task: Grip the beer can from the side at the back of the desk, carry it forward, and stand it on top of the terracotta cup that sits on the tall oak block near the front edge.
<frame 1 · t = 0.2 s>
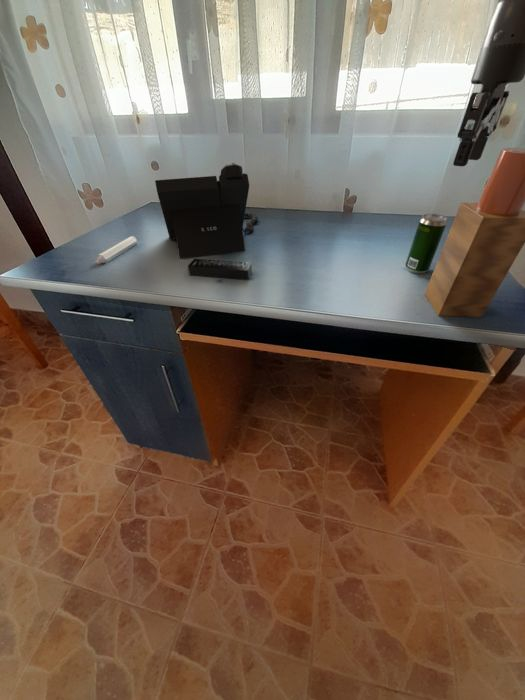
hand: (466, 162, 58), 22 cm above the table, tool pointing down, fingers open, 8 cm apart
cup: (497, 210, 48), resting on stand
stand: (451, 305, 59), on the table
office phone: (219, 235, 90), on the table
white pencil: (117, 255, 80), on the table
multiport hub: (220, 274, 71), on the table
beer can: (415, 269, 72), on the table
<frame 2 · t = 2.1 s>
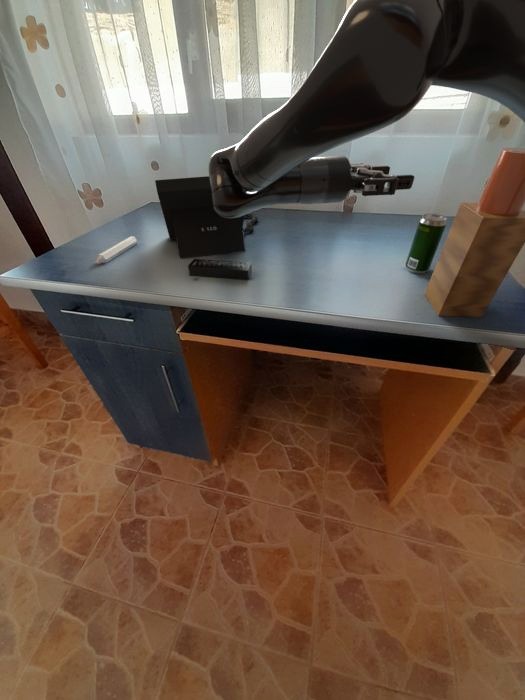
hand: (399, 176, 57), 20 cm above the table, tool horizontal, fingers open, 8 cm apart
nothing on the table moved.
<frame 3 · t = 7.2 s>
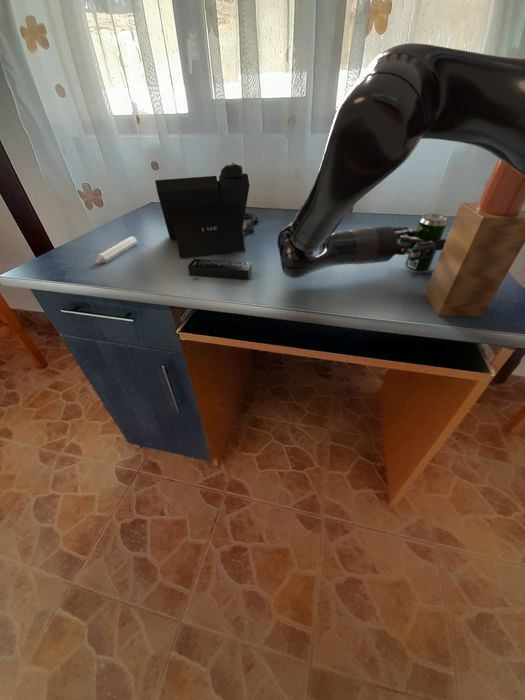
hand: (436, 239, 67), 7 cm above the table, tool horizontal, fingers closed on beer can, 5 cm apart
beer can: (415, 269, 72), on the table, touching gripper
everything else where it was.
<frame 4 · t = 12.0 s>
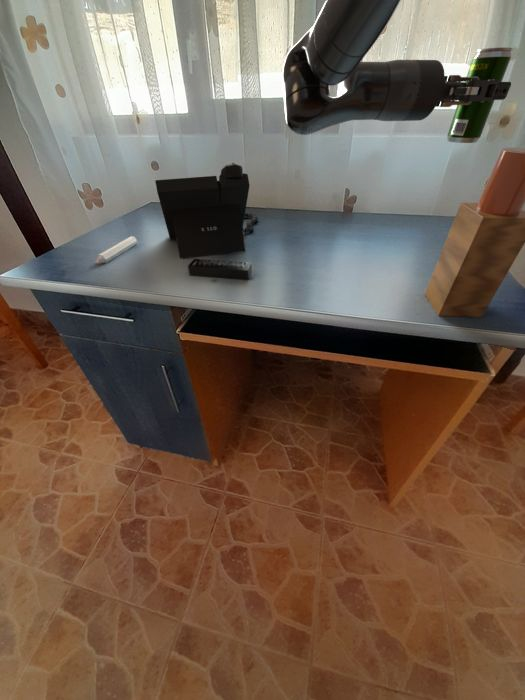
hand: (492, 91, 51), 32 cm above the table, tool horizontal, fingers closed on beer can, 5 cm apart
beer can: (461, 142, 55), point 25 cm above the table, touching gripper
everything else where it was.
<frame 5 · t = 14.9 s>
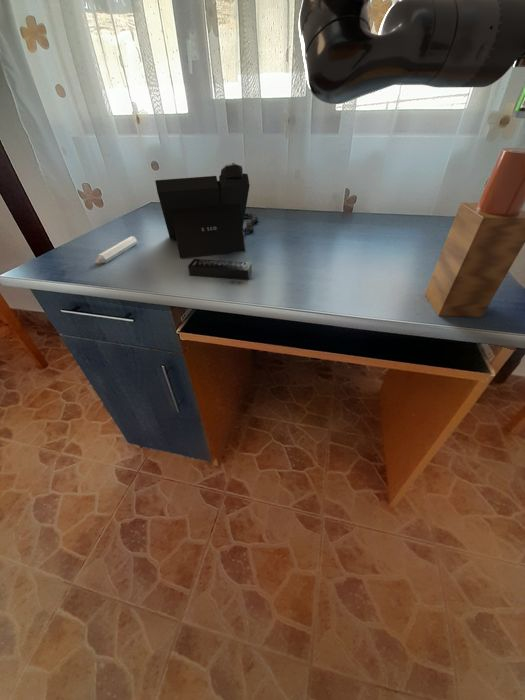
when the fingers open (33 cm above the table, at t = 17.2 s): beer can stays where it is, resting on cup.
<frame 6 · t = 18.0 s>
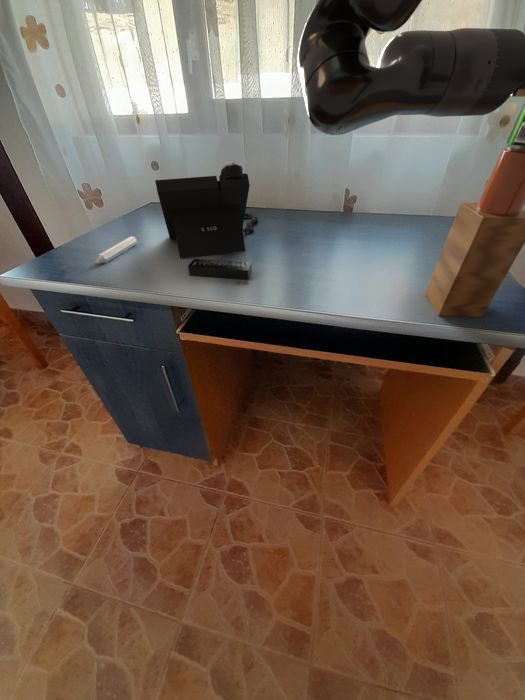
beer can: (524, 152, 42), point 26 cm above the table, touching cup
everything else where it was.
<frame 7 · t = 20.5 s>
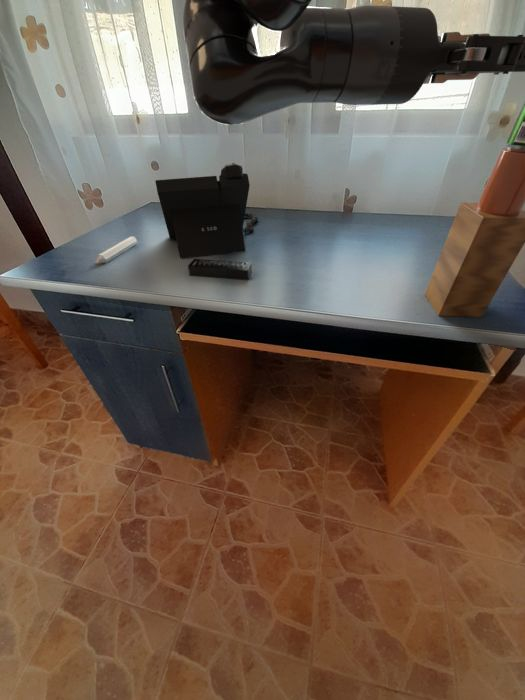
hand: (500, 60, 35), 35 cm above the table, tool horizontal, fingers open, 8 cm apart
nothing on the table moved.
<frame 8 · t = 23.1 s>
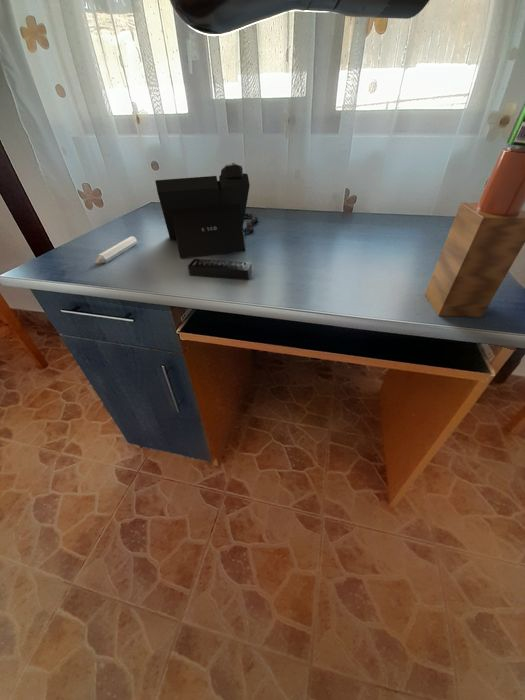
nothing on the table moved.
at the end: beer can 0.1 cm off-centre on the cup, point 7.8 cm above the cup's base; beer can tilted 0°; the gripper is holding nothing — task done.
